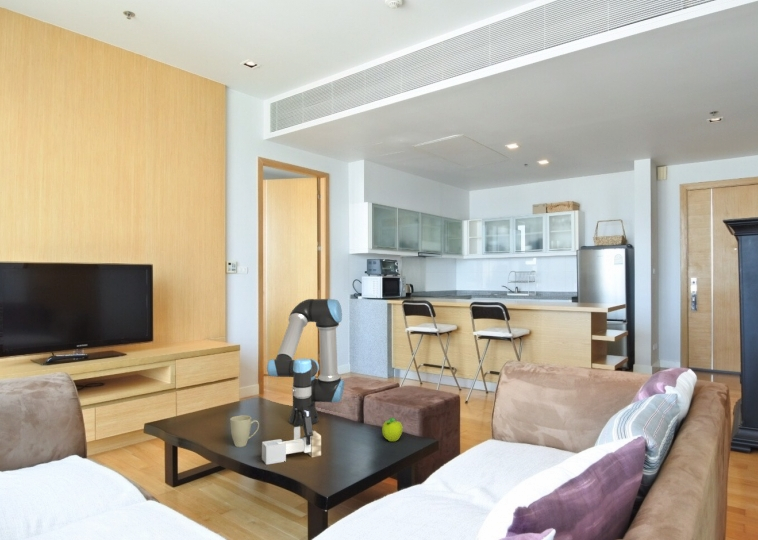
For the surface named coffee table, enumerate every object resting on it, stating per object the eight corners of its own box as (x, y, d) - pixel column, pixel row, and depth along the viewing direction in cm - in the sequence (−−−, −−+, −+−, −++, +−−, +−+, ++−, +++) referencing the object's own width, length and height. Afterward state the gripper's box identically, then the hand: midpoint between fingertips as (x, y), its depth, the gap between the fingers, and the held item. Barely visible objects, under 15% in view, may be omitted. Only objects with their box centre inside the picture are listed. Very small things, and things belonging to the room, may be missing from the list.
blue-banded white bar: (311, 446, 209) (311, 436, 209) (314, 449, 205) (314, 439, 205) (277, 452, 202) (277, 442, 202) (279, 455, 198) (280, 445, 198)
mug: (241, 450, 210) (241, 422, 211) (225, 446, 216) (226, 418, 216) (260, 443, 220) (260, 416, 220) (244, 439, 225) (244, 413, 225)
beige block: (314, 449, 211) (314, 430, 211) (321, 455, 204) (321, 435, 204) (305, 451, 209) (305, 432, 210) (311, 457, 202) (312, 437, 202)
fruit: (379, 442, 221) (379, 420, 221) (386, 436, 229) (386, 415, 230) (398, 445, 218) (398, 422, 218) (404, 438, 226) (404, 417, 227)
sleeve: (280, 455, 204) (281, 438, 204) (285, 461, 198) (285, 443, 198) (261, 459, 200) (261, 441, 200) (266, 464, 194) (266, 446, 194)
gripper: (284, 391, 214) (284, 439, 214) (303, 404, 192) (303, 458, 192) (301, 389, 218) (301, 437, 217) (321, 401, 196) (321, 455, 195)
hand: (302, 447), depth 205 cm, fingers open, 13 cm apart
